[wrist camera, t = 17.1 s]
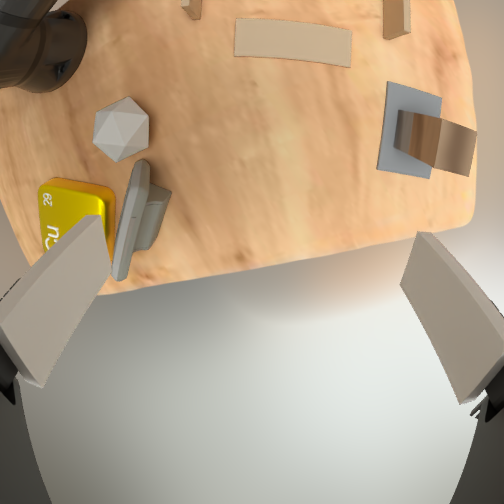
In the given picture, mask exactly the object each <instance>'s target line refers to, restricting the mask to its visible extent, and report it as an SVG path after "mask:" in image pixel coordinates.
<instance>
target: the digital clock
mask: <svg viewBox="0 0 504 504" xmlns="http://www.w3.org/2000/svg"><path fill="white" fill-rule="evenodd" d="M149 182H150V165H149V164H148V163H147V161H145V160H139V161H137V162H135V164H134V168H133V170H132V173H131V177H130V180H129V184H128V188H127V191H126V195H125V199H124V203H123V207H122V211H121V215H120V220H119V224H118V229H117V233H116V238H115V245H114V252H113V260H112V270H113V271H112V273H111V276H112V277H113V278H114V279H115V280H116V281H122V280H124V279H126V278H127V275H128V270H129V266H130V262H131V257H132V253H133V252H136V251H139V250H148V249H149V248H150V247H151V246H152V244H153V243H154V241H155V240H156V238H157V235H158V232H159V229H160V226H161V223H162V220H163V217H164V214H165V211H166V208H167V205H168V202H169V199H170V196H171V193H172V192H171V191H169V190H166V189H164V188H161V187H159V186H156V185H154V184H152V183H149Z"/></svg>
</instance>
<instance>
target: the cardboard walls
mask: <svg viewBox="0 0 504 504" xmlns="http://www.w3.org/2000/svg"><path fill="white" fill-rule="evenodd" d="M201 3H202V0H181V7H182V8H183V9H184V10H185V11H186V13H187V14H188V15H189V16H190V17H191V18H192V19H193V20H196V19H200V17H201ZM409 33H411V14H410V0H383V38H385V39H388V40H390V39H393V38H396V37H399V36H402V35H405V34H409ZM351 45H352V31H351V30H346V29H341V28H336V27H330V26H325V25H318V24H311V23H304V22H295V21H285V20H272V19H248V18H236V30H235V49H234V56H239V57H267V58H282V59H293V60H302V61H310V62H318V63H325V64H331V65H337V66H343V67H348V68H350V66H351Z"/></svg>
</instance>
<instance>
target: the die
mask: <svg viewBox="0 0 504 504" xmlns="http://www.w3.org/2000/svg"><path fill="white" fill-rule="evenodd" d="M92 143H93V144H94V145H96V146H97V147H98V148H99V149H100V150H102V151H103V152H104V153H105V154H106V155H108V156H109V157H110V158H111V159H112V160H114V161H115V162H116V163H117V162H119V161H121V160H123V159H125V158H127V157H129V156H131V155H133V154H135V153H137V152H139V151H141V150H144V149H146V148H148V145H149V116H148V115H147V114H146V113H145V112H144V111H143V110H142V109H141V108H140V107H139V106H138V105H137V104H136V103H135V102H134V101H133V100H132V99H131V98H130V97H129V96H128V97H126V98H124V99H122V100H120V101H117V102H115V103H113V104H111V105H109V106H107V107H105V108H103V109H101V110H99V111H97V112H96V117H95V125H94V133H93V142H92Z"/></svg>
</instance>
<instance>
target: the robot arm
mask: <svg viewBox="0 0 504 504" xmlns="http://www.w3.org/2000/svg"><path fill="white" fill-rule="evenodd" d="M56 2H57V0H0V89H1V88H7V87H13V86H16V87H18V88H21V89H24V90H26V91H29V92H32V93H43V92H49V91H53V90H55V89H57V88H59V87H60V86H62V85H63V84H64V83H65V82H66V81H67V80H68V79H69V78H70V77H71V76H72V75H73V73H74V72H75V70H76V69H77V67H78V65H79V64H80V62H81V59H82V57H83V54H84V51H85V47H86V41H87V31H86V26H85V23H84V21H83V20H82V18H81V17H80V16H79V15H78V14H76V13H73V12H70V11H66V10H55V11H51V12H49V10H50V9H51V8H52V7H53V5H54V4H55V3H56ZM112 271H113V270H112V266H111V262H110V258H109V253H108V249H107V244H106V240H105V235H104V230H103V224H102V219H101V215H86V216H85V217H83V218H82V219H81V220H80V221H79V222H78V223H77V224H75V225H74V226H73V227H72V228H71V229H70V230H69V231H68V232H67V233H66V234H64V235H63V236H62V237H61V238H60V239H59V240H58V241H57V242H56V243H55V244H54V245H53V246H52V247H51V248H50V249H49V250H48V251H47V252H46V253H45V254H44V255H43V256H42V257H41V258H40V259H39V260H38V261H37V262H36V263H35V264H34V265H33V266H32V267H31V268H30V269H29V270H28V271H27V272H26V273H25V274H24V275H23V276H22V277H21V278H20V279H18V281H16V283H15V284H14V285H13V286H12V287H11V288H10V291H8V292H7V293H6V294H5V295H4V298H1V300H0V504H52V503H51V500H50V498H49V495H48V493H47V490H46V488H45V485H44V483H43V480H42V477H41V474H40V471H39V468H38V465H37V462H36V459H35V455H34V452H33V448H32V445H31V441H30V437H29V433H28V429H27V425H26V420H25V415H24V410H23V406H22V399H21V393H20V386H19V383H18V380H17V379H16V377H15V376H16V374H17V372H18V371H19V372H20V374H21V375H22V376H23V378H24V379H25V380H26V382H28V383H31V384H33V385H35V386H38V387H40V388H43V387H44V384H45V383H46V381H47V379H48V377H49V375H50V373H51V371H52V369H53V367H54V365H55V363H56V361H57V360H58V358H59V356H60V354H61V353H62V351H63V349H64V347H65V345H66V344H67V342H68V340H69V339H70V337H71V335H72V333H73V332H74V330H75V328H76V327H77V325H78V323H79V322H80V320H81V318H82V317H83V315H84V313H85V312H86V310H87V309H88V307H89V306H90V304H91V303H92V301H93V300H94V298H95V296H96V295H97V293H98V292H99V290H100V289H101V287H102V286H103V284H104V283H105V281H106V280H107V278H108V277H109V275H110V274H111V273H112ZM400 286H401V288H402V290H403V291H404V293H405V295H406V296H407V298H408V300H409V302H410V304H411V305H412V307H413V309H414V311H415V313H416V314H417V316H418V318H419V320H420V322H421V323H422V325H423V327H424V329H425V331H426V333H427V335H428V337H429V339H430V340H431V343H432V345H433V347H434V348H435V351H436V353H437V355H438V357H439V359H440V361H441V363H442V366H443V368H444V370H445V372H446V374H447V376H448V379H449V381H450V383H451V386H452V388H453V390H454V392H455V395H456V397H457V400H458V402H459V405H461V404H464V403H467V402H471V401H473V400H475V399H476V398H477V397H478V396H479V395H480V394H481V392H483V390H484V389H485V390H486V392H487V396H486V397H485V398H484V399H483V400H482V401H481V402H480V403H479V404H478V405H477V406H476V407H475V408H474V409H473V410H472V412H471V414H470V416H473V415H474V414H475V413H476V412H477V411H478V410H480V413H479V414H478V415H477V416H476V417H475V418H477V419H478V423H477V427H476V431H475V434H474V438H473V442H472V445H471V448H470V452H469V455H468V458H467V461H466V464H465V467H464V470H463V472H462V475H461V478H460V480H459V483H458V485H457V488H456V490H455V493H454V495H453V497H452V500H451V502H450V504H504V317H503V315H502V314H501V313H500V312H499V310H498V308H497V307H496V306H495V304H494V303H493V302H492V301H491V300H490V299H489V298H488V297H487V295H486V294H485V293H484V292H483V290H482V289H481V288H480V287H479V285H478V284H477V283H476V282H475V280H474V279H473V278H472V277H471V276H470V275H469V273H468V272H467V271H466V270H465V269H464V268H463V266H462V265H461V264H460V263H459V262H458V261H457V260H456V259H455V257H454V256H453V255H452V254H451V253H450V252H449V251H448V250H447V249H446V248H445V247H444V245H443V244H442V243H441V242H440V241H439V240H438V239H437V238H436V237H435V236H434V235H433V234H432V233H429V232H420V231H417V235H416V238H415V241H414V244H413V248H412V251H411V254H410V257H409V260H408V263H407V266H406V269H405V271H404V274H403V277H402V280H401V282H400Z"/></svg>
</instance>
